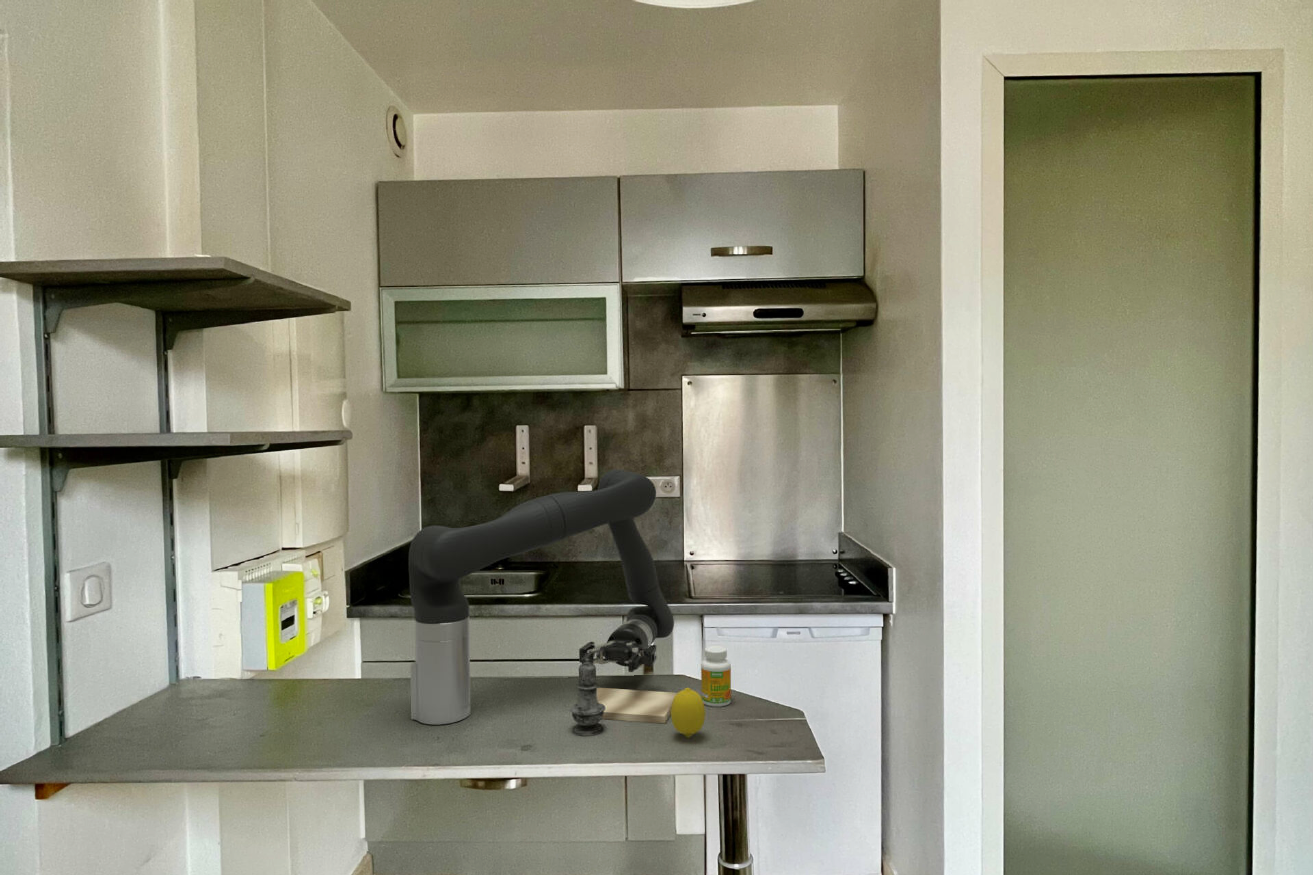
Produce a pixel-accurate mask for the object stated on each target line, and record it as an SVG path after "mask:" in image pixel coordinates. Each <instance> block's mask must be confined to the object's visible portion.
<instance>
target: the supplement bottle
mask: <svg viewBox="0 0 1313 875" xmlns="http://www.w3.org/2000/svg"><path fill="white" fill-rule="evenodd" d="M727 655H728V653H727V648H725V647H723V646H717V645H715V646H711V645H710V646H708V647H705V648H704V658H705V659H704V660H702V662H701V664H700V665H701V667H700V671H701V672H700V674H701V676H700V680H701V682H700V683H701V686H700V687H701V688H700V689H701V698H702V700H703V703H704V706H705V705H706V706H708V707H714V708H719V707H720V708H721V707H725V706H728V705H730V703H731V702H732V679H731V678H732V673H731V671H732V668H731V662H730V661H729V660H728V659H727V657H728V656H727Z"/></svg>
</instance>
